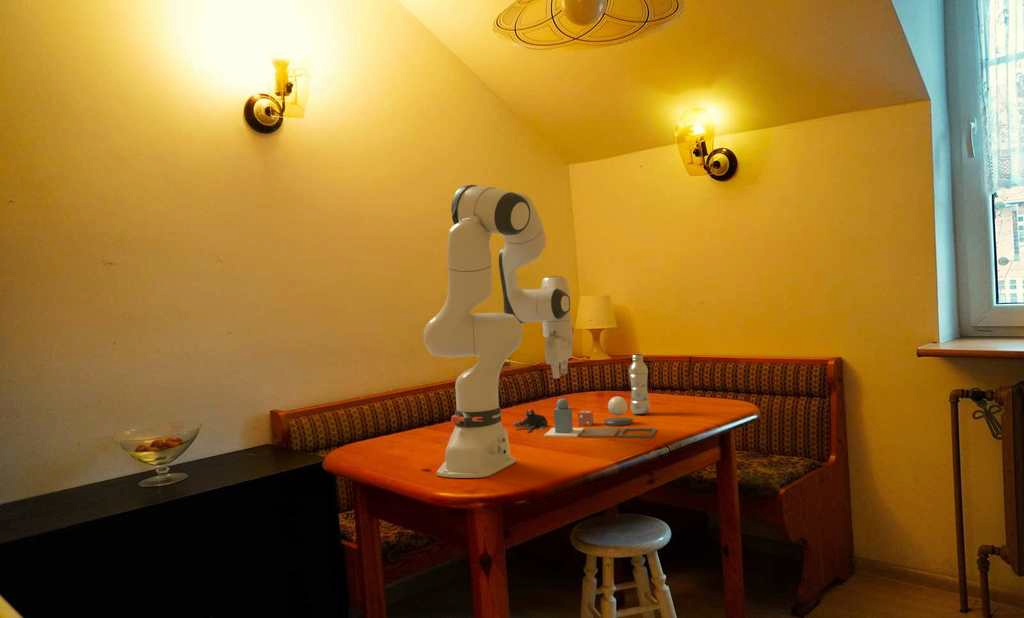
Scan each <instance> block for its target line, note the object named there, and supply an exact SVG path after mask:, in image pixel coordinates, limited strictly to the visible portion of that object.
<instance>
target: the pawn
mask: <svg viewBox="0 0 1024 618" xmlns="http://www.w3.org/2000/svg"><path fill="white" fill-rule="evenodd" d="M569 405H570V404H569V401H568V400H567V398H564V397H562V398H559V399H557V401H556V407H555V408H554V409H553V412H554V414H553V415H554V416H553V417H554V428H555V433H570V432H571V431H572V430H573V428H574V426H573V425H574V424H573V410H572V409H573V407H572V406H569Z"/></svg>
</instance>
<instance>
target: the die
mask: <svg viewBox="0 0 1024 618" xmlns="http://www.w3.org/2000/svg"><path fill="white" fill-rule="evenodd" d="M577 417H578V419H577V422H578V427H581V426H583V427H589V426H590V427H591V426H592V425H594V423H595V422H594V410H580V411H579V412H578V413H577Z"/></svg>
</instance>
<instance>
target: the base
mask: <svg viewBox="0 0 1024 618" xmlns="http://www.w3.org/2000/svg"><path fill="white" fill-rule="evenodd" d="M603 424H604V426H608V425H609V427H624V426H630V425H632V424H634V421H633V418H631V417H627V416H625V417H624V416H623V417H622V416H621V417H620V416H617V417H609V418H606V419H605V418H604V420H603Z"/></svg>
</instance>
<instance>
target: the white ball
mask: <svg viewBox="0 0 1024 618" xmlns="http://www.w3.org/2000/svg"><path fill="white" fill-rule="evenodd" d="M607 403H608V404H607V409H608V411H609V412H610V414H612V415H613V416H617V417H620V416H622V415H624V414H625V413H626V412H627V410H628V402H627V401H626V399H625V398H623V397H622V396H613V397H611V398H610V400H609V401H608V402H607Z"/></svg>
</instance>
